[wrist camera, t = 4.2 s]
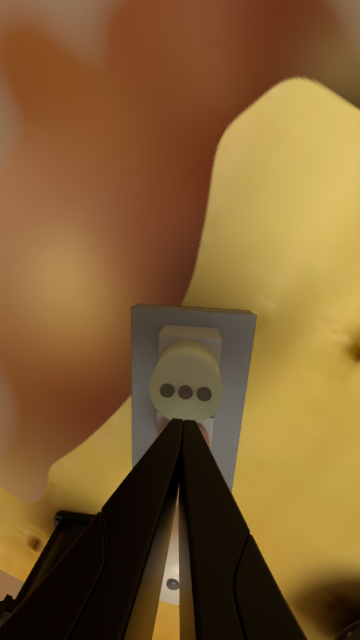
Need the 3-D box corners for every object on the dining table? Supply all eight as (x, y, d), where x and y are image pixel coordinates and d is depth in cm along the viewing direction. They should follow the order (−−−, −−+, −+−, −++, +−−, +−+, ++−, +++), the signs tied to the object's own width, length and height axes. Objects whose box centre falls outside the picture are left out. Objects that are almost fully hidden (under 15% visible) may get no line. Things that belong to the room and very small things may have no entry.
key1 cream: (157, 501, 16) (140, 601, 11) (159, 466, 15) (140, 557, 10) (201, 507, 15) (203, 612, 11) (205, 472, 15) (208, 569, 10)
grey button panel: (139, 466, 20) (122, 520, 15) (139, 303, 16) (117, 313, 12) (226, 477, 19) (235, 537, 15) (249, 310, 15) (270, 324, 11)
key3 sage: (164, 372, 14) (147, 421, 10) (166, 327, 14) (148, 354, 9) (212, 377, 14) (219, 428, 9) (216, 330, 13) (227, 361, 9)
